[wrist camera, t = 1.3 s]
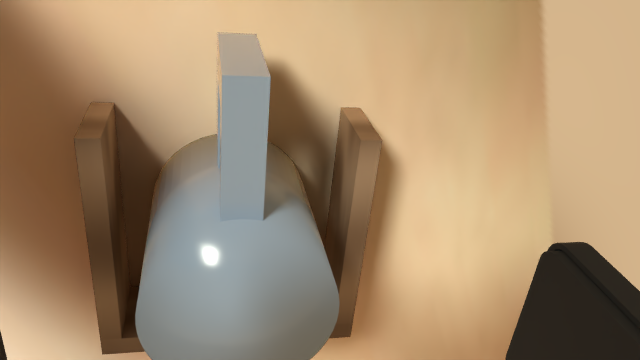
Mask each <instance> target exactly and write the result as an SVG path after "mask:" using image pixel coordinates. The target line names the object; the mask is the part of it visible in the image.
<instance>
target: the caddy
mask: <svg viewBox="0 0 640 360" xmlns="http://www.w3.org/2000/svg"><path fill="white" fill-rule="evenodd" d="M74 143H75V151H76V159H77V166H78V174H79V181H80V189H81V196H82V204H83V211H84V219H85V227H86V234H87V242H88V249H89V257H90V264H91V272H92V280H93V287H94V295H95V302H96V310H97V317H98V325H99V333H100V340H101V348H102V354H116V353H130V352H144V351H145V350H144V348H143V347H142V345H141V343H140V340H139V338H138V335H137V330H136V325H135V313H136V307H137V300H138V293H139V287H140V286H134V287H130V276H129V265H128V254H127V243H126V232H125V221H124V210H123V199H122V188H121V177H120V166H119V155H118V144H117V133H116V122H115V111H114V103H91V104H90V106H89V108H88V110H87V112H86V114H85V116H84V118H83V120H82V122H81V124H80V127H79V129H78V131H77V133H76V135H75V137H74ZM381 145H382V139H381V138H380V137H379V135H378V134H377V132H376V131H375V129H374V128H373V126H372V125H371V123H370V122H369V120H368V119H367V117H366V116H365V115H364V113H363V112H362V110H361V109H360V108H341V113H340V122H339V130H338V138H337V147H336V155H335V163H334V172H333V180H332V189H331V197H330V205H329V214H328V222H327V230H326V239H325V247H324V249H325V252H326V255H327V258H328V261H329V264H330V267H331V270H332V273H333V276H334V279H335V282H336V286H337V289H338V293H339V313H338V318H337V322H336V324H335V327H334V329H333V332H332V333H331V335H330V337H329V338H339V337H350V335H351V329H352V323H353V317H354V311H355V305H356V298H357V292H358V286H359V280H360V274H361V268H362V262H363V255H364V249H365V243H366V237H367V231H368V225H369V219H370V212H371V206H372V200H373V194H374V188H375V182H376V176H377V169H378V163H379V157H380V151H381Z"/></svg>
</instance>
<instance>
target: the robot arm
mask: <svg viewBox="0 0 640 360" xmlns="http://www.w3.org/2000/svg"><path fill="white" fill-rule="evenodd" d="M0 360H7V357H6V353H5V349H4V344H3V340H2V336H1V332H0ZM506 360H640V291H639V290H638V289H637V288H635V287H634V286H633V285H632V284H631V283H630V282H629V281H628V280H627V279H626V278H625V277H624V276H623V275H622V274H621V273H620V272H618V271H617V270H616V269H615V268H614V267H613V266H612V265H611V264H610V263H609V262H607V260H605V258H604V257H603V256H601V255H600V254H599V253H598V252H597V251H596V250H595V249H594V248H593V247H592V246H590V245H589V244H587V243H584V242H573V243H572V242H571V243H555V244H552V245H551V246H550V247H549V249H548V251H546V252H544V253H543V254H542V255H541V257H540V260H539V262H538V265H537V268H536V271H535V274H534V277H533V280H532V283H531V285H530V288H529V291H528V294H527V297H526V300H525V303H524V306H523V308H522V311H521V314H520V317H519V320H518V323H517V326H516V328H515V331H514V334H513V337H512V340H511V343H510V346H509V349H508V351H507V354H506Z"/></svg>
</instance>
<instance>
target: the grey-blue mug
mask: <svg viewBox="0 0 640 360" xmlns="http://www.w3.org/2000/svg"><path fill="white" fill-rule="evenodd" d="M270 82H271V76H270V73H269V70H268V67H267V64H266V61H265V59H264V56H263V53H262V50H261V47H260V44H259V41H258V38H257V35H256V34H240V33H219V32H217V134H216V135H210V136H207V137H203V138H200V139H198V140H196V141H193V142H191V143H189V144H188V145H186V146H184V147H183V148H181V149H180V150H179V151H178V152H176V153H175V154H174V155H173V156H172V157H171V158H170V159H169V160H168V161H167V163H166V164H165V165H164V167H163V168H162V170H161V172H160V174H159V175H158V178H157V181H156V184H155V188H154V193H153V200H152V207H151V213H150V220H149V227H148V233H147V240H146V247H145V253H144V260H143V267H142V273H141V280H140V287H139V293H138V300H137V307H136V313H135V325H136V330H137V335H138V338H139V340H140V343H141V345H142V347H143V348H144V350H145V352H146V353H147V354H148V356H149V357H150V358H151V359H152V360H310V359H311V358H312V357H313V356H314V355H315V354H316V353H317V352H318V351H319V350H320V349H321V348H322V347H323V346H324V344H325V343H326V342H327V340H328V339H329V337H330V335H331V333H332V332H333V329H334V327H335V324H336V322H337V318H338V313H339V293H338V289H337V286H336V282H335V279H334V276H333V273H332V270H331V267H330V264H329V261H328V258H327V255H326V252H325V249H324V246H323V243H322V240H321V237H320V234H319V231H318V228H317V225H316V222H315V219H314V216H313V213H312V210H311V206H310V203H309V200H308V197H307V194H306V191H305V188H304V185H303V182H302V179H301V176H300V174H299V172H298V170H297V168H296V166H295V165H294V163H293V162H292V160H291V159H290V158H289V157H288V156H287V155H286V154H285V153H284V152H283V151H282V150H281V149H279V148H278V147H277V146H275V145H273V144H272V143H270V142H268V141H267V139H268V120H269V101H270Z"/></svg>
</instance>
